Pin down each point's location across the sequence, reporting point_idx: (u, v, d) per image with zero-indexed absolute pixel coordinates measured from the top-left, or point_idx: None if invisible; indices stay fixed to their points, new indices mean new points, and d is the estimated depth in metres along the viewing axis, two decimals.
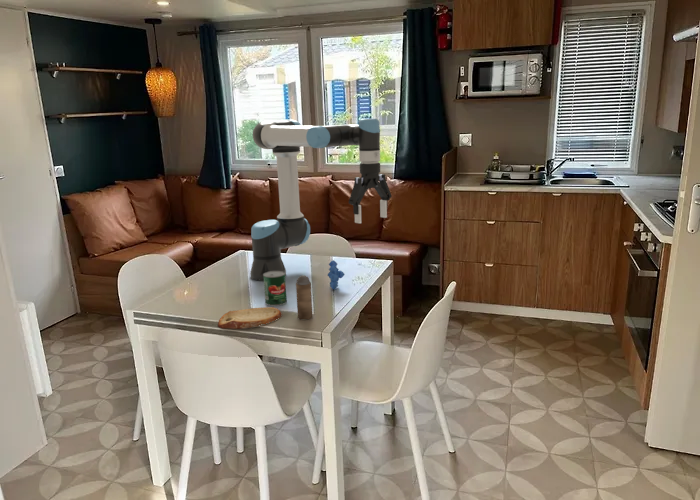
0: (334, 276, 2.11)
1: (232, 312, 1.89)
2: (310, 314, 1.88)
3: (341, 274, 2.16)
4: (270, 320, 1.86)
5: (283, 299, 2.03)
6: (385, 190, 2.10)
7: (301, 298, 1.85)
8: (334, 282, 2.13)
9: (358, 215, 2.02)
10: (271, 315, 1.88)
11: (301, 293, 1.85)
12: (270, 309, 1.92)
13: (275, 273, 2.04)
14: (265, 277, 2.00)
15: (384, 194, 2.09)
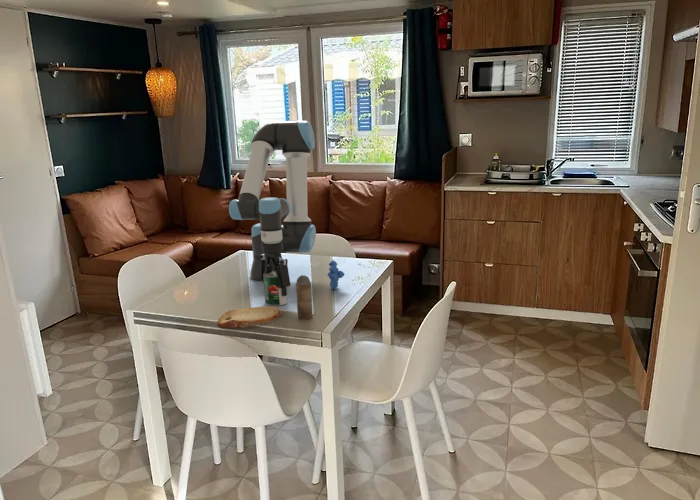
0: (334, 276, 2.11)
1: (232, 311, 1.89)
2: (310, 314, 1.88)
3: (341, 274, 2.16)
4: (270, 319, 1.86)
5: None
6: None
7: (301, 298, 1.85)
8: (334, 282, 2.13)
9: None
10: (271, 314, 1.89)
11: (301, 293, 1.85)
12: (270, 308, 1.93)
13: (275, 273, 2.04)
14: (265, 277, 2.00)
15: (279, 280, 2.00)
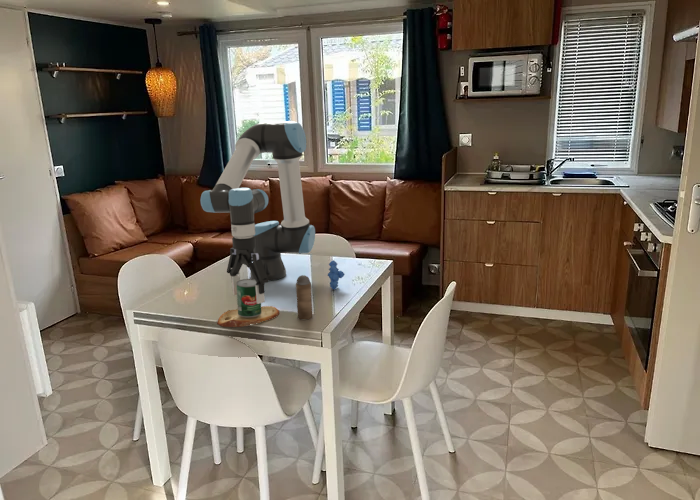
0: (334, 276, 2.11)
1: (231, 311, 1.91)
2: (310, 314, 1.88)
3: (341, 274, 2.16)
4: None
5: (257, 310, 1.86)
6: None
7: (301, 298, 1.85)
8: (334, 282, 2.13)
9: None
10: (270, 314, 1.90)
11: (301, 293, 1.85)
12: (268, 308, 1.95)
13: (249, 282, 1.87)
14: (238, 286, 1.83)
15: (254, 276, 1.79)
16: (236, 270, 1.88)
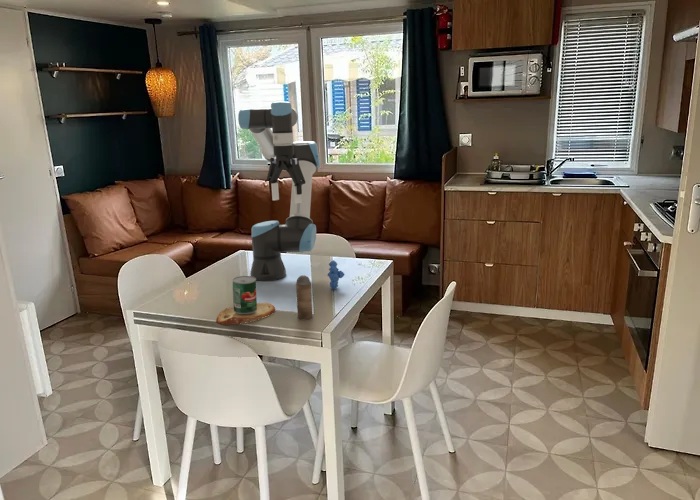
0: (334, 276, 2.11)
1: (228, 309, 1.92)
2: (310, 314, 1.88)
3: (341, 274, 2.16)
4: (268, 314, 1.92)
5: (255, 306, 1.90)
6: None
7: (301, 298, 1.85)
8: (334, 282, 2.13)
9: None
10: (268, 309, 1.94)
11: (301, 293, 1.85)
12: (264, 304, 1.98)
13: (244, 279, 1.90)
14: (237, 284, 1.85)
15: (293, 179, 2.05)
16: (275, 177, 2.14)
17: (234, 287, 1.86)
